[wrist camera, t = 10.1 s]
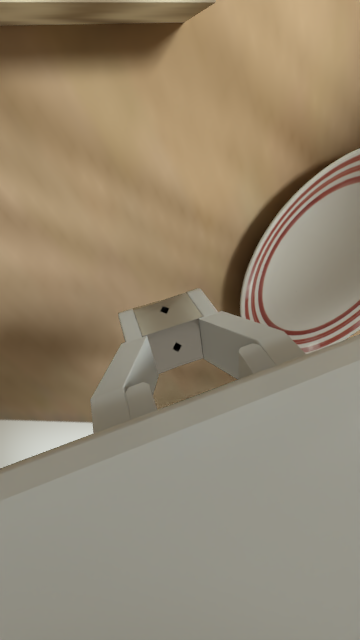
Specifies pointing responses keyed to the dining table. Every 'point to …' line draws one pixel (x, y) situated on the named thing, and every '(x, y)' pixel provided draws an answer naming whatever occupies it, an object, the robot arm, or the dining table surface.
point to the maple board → (98, 11)
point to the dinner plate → (311, 261)
